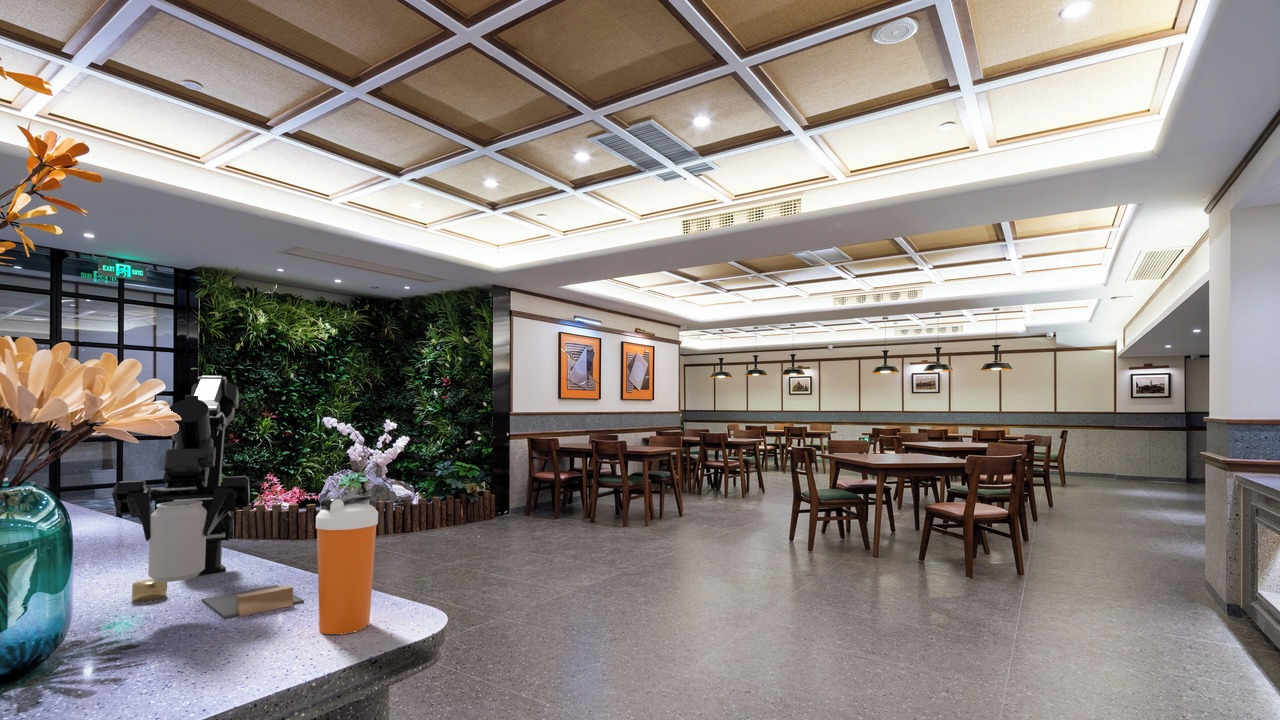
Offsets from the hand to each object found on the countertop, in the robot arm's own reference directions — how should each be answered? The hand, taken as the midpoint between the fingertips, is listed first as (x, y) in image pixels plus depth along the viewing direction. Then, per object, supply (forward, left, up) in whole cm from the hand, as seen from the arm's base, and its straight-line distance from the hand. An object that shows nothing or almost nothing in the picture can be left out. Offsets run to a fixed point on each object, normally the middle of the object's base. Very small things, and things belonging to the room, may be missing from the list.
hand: (177, 537), depth 105 cm
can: (-1, 0, -7) cm, 7 cm away
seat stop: (+3, +12, -13) cm, 18 cm away
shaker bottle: (+22, +19, -13) cm, 32 cm away
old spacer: (-18, -1, -13) cm, 23 cm away
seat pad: (-2, +12, -13) cm, 18 cm away
